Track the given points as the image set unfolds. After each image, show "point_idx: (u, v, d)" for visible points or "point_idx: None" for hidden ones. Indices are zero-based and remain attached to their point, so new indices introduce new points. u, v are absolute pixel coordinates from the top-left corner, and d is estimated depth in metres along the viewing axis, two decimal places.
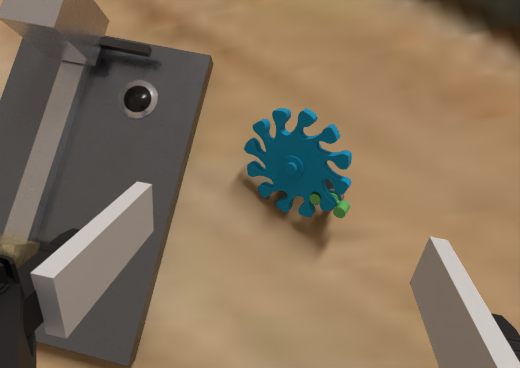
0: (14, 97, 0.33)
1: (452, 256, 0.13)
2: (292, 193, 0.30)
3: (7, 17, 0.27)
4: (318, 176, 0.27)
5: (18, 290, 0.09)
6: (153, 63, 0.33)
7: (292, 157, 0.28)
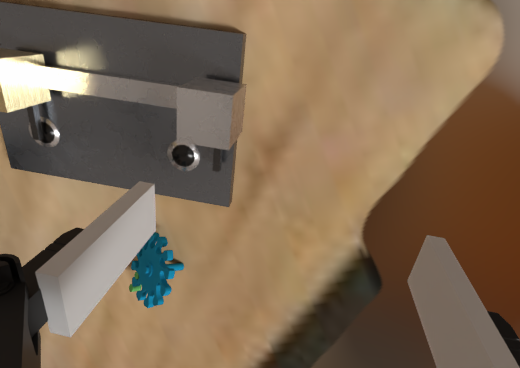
0: (162, 38, 0.34)
1: (449, 254, 0.13)
2: (140, 261, 0.47)
3: (178, 97, 0.29)
4: (143, 284, 0.45)
5: (23, 289, 0.10)
6: None
7: (150, 272, 0.44)
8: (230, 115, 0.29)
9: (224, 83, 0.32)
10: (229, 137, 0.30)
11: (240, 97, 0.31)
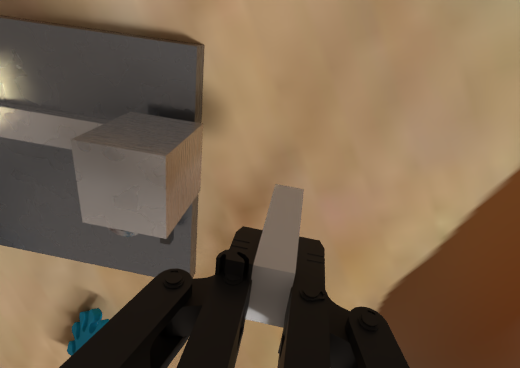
0: (75, 50, 0.22)
1: (298, 199, 0.16)
2: (76, 346, 0.35)
3: (75, 156, 0.17)
4: None
5: (246, 288, 0.11)
6: None
7: None
8: (164, 187, 0.17)
9: (166, 123, 0.20)
10: (165, 219, 0.18)
11: (189, 148, 0.19)
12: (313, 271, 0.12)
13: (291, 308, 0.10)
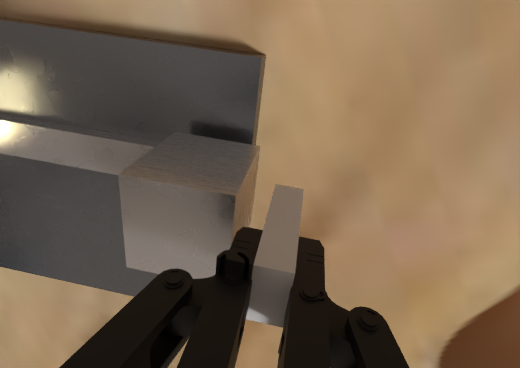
0: (117, 62, 0.19)
1: (298, 199, 0.16)
2: None
3: (123, 193, 0.14)
4: None
5: (246, 288, 0.11)
6: None
7: None
8: (230, 231, 0.14)
9: (220, 147, 0.17)
10: None
11: (250, 178, 0.16)
12: (313, 271, 0.12)
13: (291, 308, 0.10)
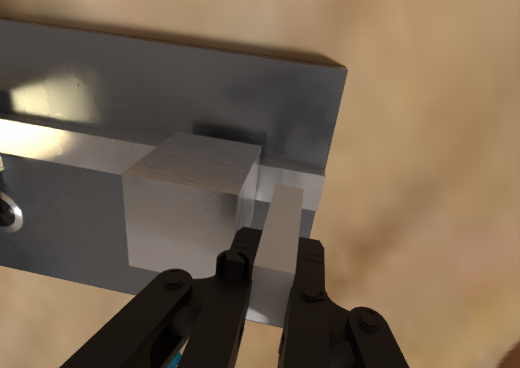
0: (194, 73, 0.19)
1: (298, 199, 0.16)
2: None
3: (126, 192, 0.14)
4: None
5: (247, 288, 0.11)
6: None
7: None
8: (232, 230, 0.14)
9: (222, 147, 0.18)
10: None
11: (251, 178, 0.17)
12: (313, 271, 0.12)
13: (291, 308, 0.10)
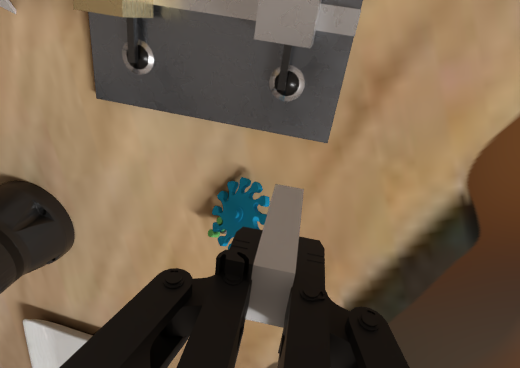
0: None
1: (298, 199, 0.16)
2: (225, 206, 0.45)
3: None
4: (228, 229, 0.44)
5: (246, 288, 0.11)
6: (321, 93, 0.37)
7: (240, 217, 0.42)
8: (317, 5, 0.27)
9: None
10: (312, 33, 0.28)
11: None
12: (313, 271, 0.12)
13: (291, 308, 0.10)
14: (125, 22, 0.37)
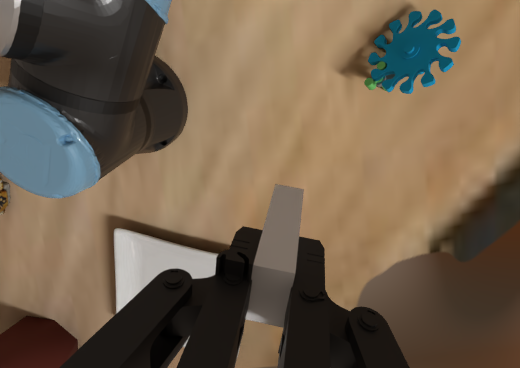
0: None
1: (298, 199, 0.16)
2: (388, 48, 0.40)
3: None
4: (398, 69, 0.39)
5: (246, 288, 0.11)
6: None
7: (417, 50, 0.38)
8: None
9: None
10: None
11: None
12: (313, 271, 0.12)
13: (291, 308, 0.10)
14: None
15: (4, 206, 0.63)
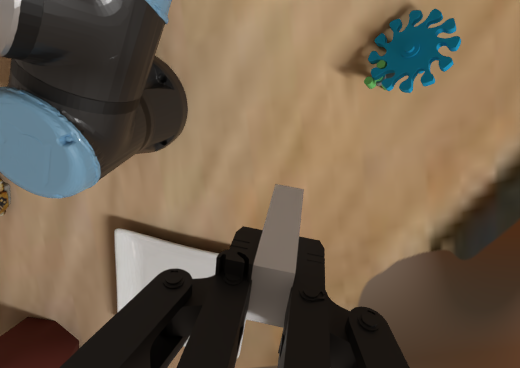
0: None
1: (298, 199, 0.16)
2: (389, 47, 0.40)
3: None
4: (398, 68, 0.39)
5: (246, 288, 0.11)
6: None
7: (417, 49, 0.38)
8: None
9: None
10: None
11: None
12: (313, 271, 0.12)
13: (291, 308, 0.10)
14: None
15: (5, 207, 0.63)
